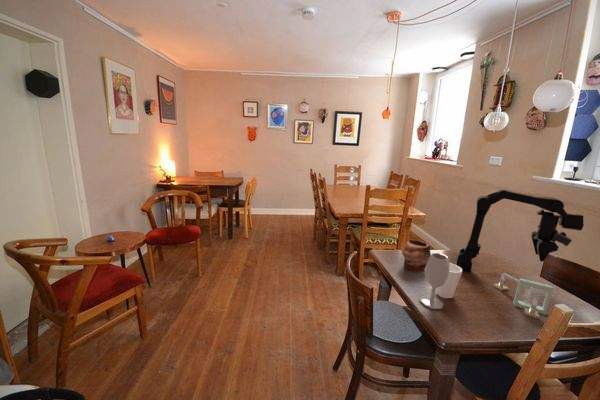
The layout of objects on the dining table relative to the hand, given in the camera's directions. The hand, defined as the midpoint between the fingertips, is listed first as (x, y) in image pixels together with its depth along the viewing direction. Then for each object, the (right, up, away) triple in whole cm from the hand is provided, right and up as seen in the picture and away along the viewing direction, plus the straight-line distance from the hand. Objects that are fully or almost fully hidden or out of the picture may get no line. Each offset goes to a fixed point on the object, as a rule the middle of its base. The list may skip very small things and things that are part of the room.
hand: (539, 257), depth 122 cm
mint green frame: (-17, -18, -14) cm, 28 cm away
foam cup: (-48, -15, -7) cm, 50 cm away
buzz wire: (-19, -16, -8) cm, 26 cm away
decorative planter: (-50, -9, +17) cm, 54 cm away
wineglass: (-57, -16, -14) cm, 61 cm away
